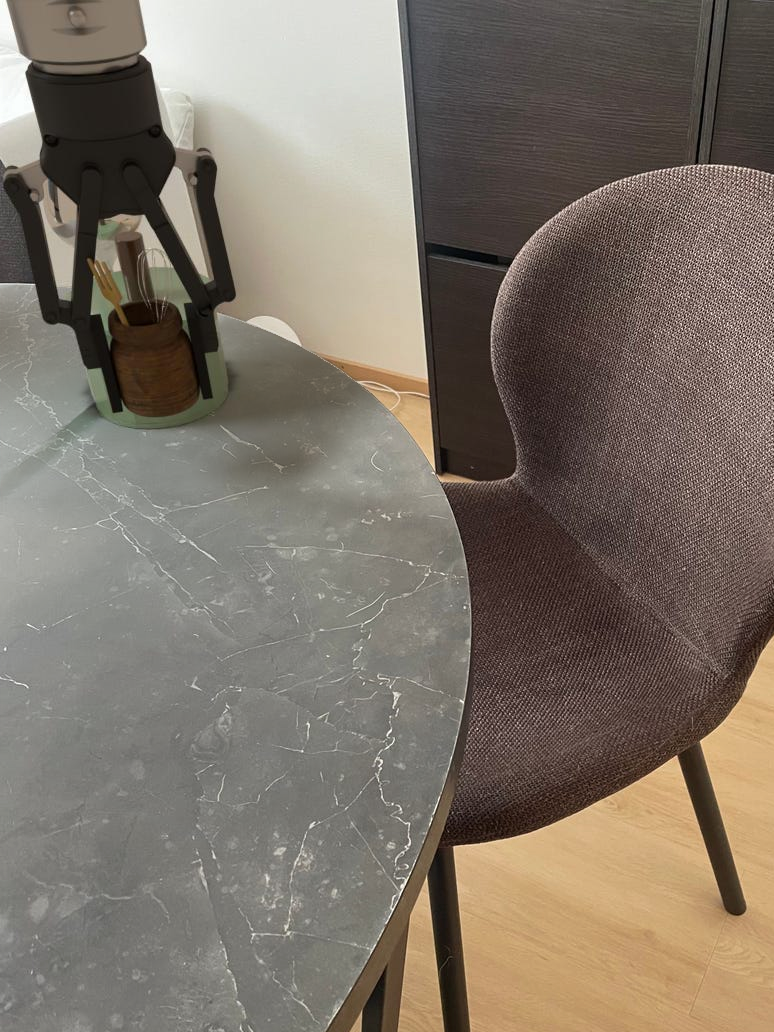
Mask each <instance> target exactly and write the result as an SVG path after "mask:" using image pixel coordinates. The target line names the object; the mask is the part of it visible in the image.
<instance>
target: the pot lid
mask: <svg viewBox="0 0 774 1032" xmlns="http://www.w3.org/2000/svg"><path fill="white" fill-rule="evenodd" d="M114 242H115V246H116V251H117V255H118V257H117V259H118V263H119V268H120V270H117V271H114V272H112V273H111V275H112V277H113V279H114V281H115V283H116V285H117V287H118V289H119V291H120V293H121V296H122V301H121V302H119V305H122V304H125V303H128V302H132V301H137V300H145V299H147V297H148V299H156V300H157V294H158V300H164V297H165V301H166V299H167V301H169V302H170V303H173V304H174V305H176V306H177V308H178V309H179V312H180V314H181V317H182V320H183V326H182V327H184V326H186V325H188V324H187V319H186V314H185V309H184V304H183V303H189V302H192V301H191V299H190V297H189V295H188V293H187V292H186V290H185V288H184V286H183V284H182V282H181V280H180V279H179V277H178V275H177V273H176V271H175V269H174V267H171V269H170V266H167V270H166V275H165V268H166V266H156V275H155V266H154V274H153V266H150V265H149V260H148V255H147V254H146V253H147V250H146V246H145V241H144V237H143V234H142V233H141V232H139V231H137V232H135V231H126V232H121V233H118V234H116V235H115V236H114ZM144 250H146V251H145V252H144V254H143V253H142V252H143V251H144ZM141 253H142V254H141ZM140 254H141V255H140ZM142 255H143V257H142ZM145 255H146V256H145ZM139 256H140V257H139ZM144 257H145V259H144ZM138 258H139V260H138ZM141 259H142V265H141ZM143 261H144V278H143V279H142V272H143ZM137 262H138V270H137ZM171 272H172V280H171ZM167 273H168V280H167ZM104 274H105V273H104ZM199 275H200V276H201V278H202V280H203V282H204V284H206V283H208V282H210V281H212V280H213V279H211V278H210V277H208V276H206V275H204V274H202V273H199ZM99 276H100V275H99ZM105 276H106V278H107V275H106V274H105ZM138 277H139V283H138ZM100 278H101V276H100ZM154 279H155V287H154ZM156 279H157V288H156ZM101 280H102V278H101ZM107 280H108V278H107ZM102 282H103V281H102ZM108 282H109V280H108ZM143 282H145V290H146V293H145V290H144V285H143ZM103 284H104V283H103ZM109 284H110V282H109ZM139 285H140V288H139ZM104 286H105V285H104ZM110 286H111V285H110ZM171 286H172V291H171ZM140 289H141V291H140ZM165 289H166V295H165ZM155 291H156V298H155ZM71 292H72V290H70V292H68V293H67V295H66V296H65V298H64V299H63V300H68V301H71ZM141 292H142V294H141ZM167 293H168V297H167ZM170 293H171V296H170ZM146 294H147V297H146ZM142 295H143V297H144V299H143V297H142ZM169 297H170V300H169ZM113 309H115V307H114V305H113V304H112V303H111V302H110V301H108V300H107V299H106V298H104V296H103V295H102V292H101V290H100V288H99V286H98V283H97V281H96V279H95V277H94V279H93V291H92V304H91V315H95V314H101V318H102V322H103V326H104V330H105V334H106V335H108V336H111V335H110V333H109V329H108V315H109V313H110V312H111V311H112V310H113Z"/></svg>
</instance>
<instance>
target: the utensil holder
mask: <svg viewBox="0 0 774 1032" xmlns="http://www.w3.org/2000/svg"><path fill="white" fill-rule="evenodd" d="M145 251H146V255H147V254H148V253H150V251H151V258H152V259H151V261H152V262H153V264H156V258H155V257H156V256H154V255H155V251H157V252H158V253H159V254H160V255H161V257H162V259H163V263H164V265H165V267H166V268H165V275H166V270H167V267H168V265H167V262H166V260H165V257H164V255H165V256H166V258H167V260H168V262H169V268H170V269H171V268H172V264H171V262H170V260H169V258H168V256H167V254H166V253H165V251H164V250H163V251H162V250H161V249H159V248H156V247H154V248H153V247H148V248H145V250H144V251H143V252H142V253H143V254H144V252H145ZM142 253H141V254H142ZM141 254H140V255H141ZM146 255H145V256H146ZM139 257H140V256H139ZM142 257H143V255H142ZM144 259H145V257H144ZM138 260H139V258H138ZM87 261H88V263H89V265H90V268H91V270H92V272H93V274H94V278H95V279H96V281H97V283H98V286H99V288H100V290H101V292H102V295H103V296H104V298H106V299H107V300H108V301H110V302H111V303H112V304H113V305H114V307H115V309H113V310H112V311H111V312H110V313H109V315H108V329H109V333H110V335H111V336H112V339H111V342H110V356H111V361H112V365H113V369H114V373H115V377H116V381H117V385H118V389H119V393H120V396H121V399H122V401H123V404H124V405H125V407H126V408H127V409H128V410H129V411H130V412H132V413H134V414H136V415H140V416H144V417H166V416H171V415H175V414H178V413H181V412H183V411H186V410H187V409H189V408H191V407H192V406H193V405H194V404H195V403H196V402H197V400H198V398H199V395H200V386H199V379H198V373H197V368H196V363H195V357H194V352H193V348H192V344H191V341H190V338H189V336H188V334H187V333H186V331H185V330H184V329H183V328H182V326H183V320H182V317H181V314H180V312H179V309H178V308H177V306H176V305H174V304H173V303H170V302H169V301H167V299H166V301H165V297H164V300H158V294H157V300H156V299H148V297H147V294H146V297H147V299H145V300H137V301H132V302H128V303H125V304H122V305H119V302H121V301H122V296H121V293H120V291H119V289H118V287H117V285H116V283H115V281H114V279H113V277H112V275H111V273H110V271H109V269H108V267H107V265H106V263H105V262H102V263H101V264H102V266H103V268H102V267H101V266H100V264H99V262H98V261H97V260H95V261H94V262H95V266H94V264H93V262H92V260H91V259H90V258H88V259H87ZM141 265H142V259H141ZM152 267H153V274H154V267H155V275H156V267H157V265H152ZM137 270H138V262H137ZM104 271H105V273H106V275H107V278H108V280H109V282H110V284H109V282H108V280H107V278H106V276H105V273H104ZM100 276H101V278H102V280H101V278H100ZM143 278H144V261H143V272H142V279H143ZM167 280H168V273H167ZM171 280H172V272H171ZM102 281H103V282H102ZM103 283H104V284H103ZM138 283H139V277H138ZM104 285H105V286H104ZM110 285H111V286H110ZM143 285H144V290H145V282H143ZM154 287H155V279H154ZM139 288H140V285H139ZM156 288H157V279H156ZM140 291H141V289H140ZM171 291H172V286H171ZM145 293H146V290H145ZM141 294H142V292H141ZM165 295H166V289H165ZM170 296H171V293H170ZM142 297H143V295H142ZM167 297H168V293H167ZM155 298H156V291H155ZM143 299H144V297H143ZM169 300H170V297H169Z"/></svg>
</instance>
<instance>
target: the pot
mask: <svg viewBox="0 0 774 1032" xmlns="http://www.w3.org/2000/svg"><path fill="white" fill-rule="evenodd" d="M214 319H215V325H216V330H217V336H218V342H219V347H218V351H217V352H210V353H205V357H206V362H207V368H208V373H209V378H210V384H211V389H212V394H213V398H212V399H205V400H203V397H202V393H201V389H200V395H199V398H198V400H197V402H196V403H195V404H194V405H193V406H192V407H191V408H189V409H187V410H186V411H183V412H181V413H178V414H175V415H171V416H166V417H144V416H140V415H136V414H134V413H132V412H130V411H129V410H128V409H127V408H126V407H125V405H124V404H123V401H122V407H123V412H118V413H113V412H112V408H111V404H110V400H109V396H108V393H107V389H106V385H105V381H104V377H103V373H102V369H101V368H97V369H89V370H88V369H87V368H86V366H85V365H84V364H83V367H84V371H85V375H86V378H87V383H88V386H89V390H90V394H91V396H92V398H93V401H94V405H95V408H96V410H97V412H98V413H99V415H100V416H101V417H102V418H104V419H105V420H106V421H108V422H111V423H113V424H116V425H119V426H122V427H126V428H133V429H149V430H152V429H164V428H172V427H177V426H181V425H185V424H188V423H193V422H195V421H198V420H200V419H203V418H205V417H206V416H208V415H210V414H212V413H214V411H216V410H217V409H218V408H219V407H221V406H222V405H223V404H224V402H226V401H225V400H226V399H227V397H228V394H229V377H228V372H227V366H226V360H225V353H224V348H223V342H222V335H221V331H220V325H219V318H218V312H217V307H216V308H215V310H214ZM182 328H183V329H184V330H185V331H186V333H187V334H188V336H189V338H190V335H189V330H188V325H186V326H184V327H182ZM106 338H107V342H108V346H109V350H110V342H111V339H112V336H108V335H106ZM190 341H191V340H190ZM199 386H200V385H199ZM121 400H122V399H121Z"/></svg>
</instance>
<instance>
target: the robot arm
mask: <svg viewBox="0 0 774 1032" xmlns="http://www.w3.org/2000/svg"><path fill="white" fill-rule="evenodd" d="M5 2H6V6H7V10H8V13H9V17H10V20H11V21H10V22H11V24H12V29H13V32H14V35H15V36H14V37H15V40H16V44H17V48H18V51H19V54H20V55H22V56H23V57H24V58H26V59H27V60H28V61H31V62H29V64H28V65H27V68H26V70H25V71H24V74H25V79H26V83H27V87H28V91H29V94H30V98H31V102H32V106H33V110H34V113H35V117H36V121H37V125H38V129H39V133H40V137H41V147H40V151H39V159H36V160H35V161H32V162H29V163H27V164H25V165H23V166H17V165H13V164H11V165H7V166H6V167H5V169H4V170H3V176H2V177H3V178H2V179H3V180H2V181H3V183H2V184H3V185H2V186H3V189H4V192H5V193H6V195H7V197H8V198H9V200H10V202H11V204H12V205H13V207H14V208H15V210H16V211H17V213H18V215H19V217H20V218H19V219H20V222H21V227H22V232H23V237H24V241H25V246H26V249H27V255H28V258H29V263H30V268H31V273H32V276H33V282H34V286H35V290H36V295H37V300H38V304H39V309H40V313H41V317H42V320H43V322H45V323H46V324H48V325H50V326H55V325H57V324H59V325H65V326H68V327H70V328H71V329H72V330H73V332H74V335H75V338H76V341H77V345H78V349H79V353H80V356H81V360H82V363H83V366H84V365H85V366H86V368H87V369H88V370H89V369H97V368H101V369H102V373H103V377H104V381H105V385H106V389H107V393H108V396H109V400H110V404H111V408H112V412H113V413H118V412H123V407H122V400H121V396H120V393H119V389H118V385H117V381H116V377H115V373H114V369H113V365H112V361H111V356H110V350H109V346H108V342H107V338H106V334H105V330H104V326H103V322H102V318H101V314H95V315H91V304H92V291H93V279H94V278H95V277H94V274H93V272H92V270H91V268H90V265H89V263H88V261H87V259H88V258H90V259H91V260H92V262H93V264H94V266H95V267H96V265H95V262H94V261H95V254H96V241H97V234H98V223H99V220H100V219H109V218H112V217H115V216H117V215H120V214H125V215H131V216H137V215H142V216H144V217H145V218H146V220H147V221H146V222H147V223H148V224H149V226H150V228H151V230H152V231H153V233H154V235H155V236H156V238H157V239H158V241H159V244H160V245H161V247H162V249H163V252H164V253H165V254H166V255H167V256H166V257H168V258H169V260H168V261H170V264H171V267H172V268H174V269H175V271H176V273H177V275H178V277H179V279H180V280H181V282H182V284H183V286H184V288H185V290H186V292H187V293H188V295H189V297H190V299H191V301H192V302H189V303H183V304H184V309H185V314H186V319H187V324H188V330H189V335H190V340H191V344H192V348H193V352H194V357H195V363H196V368H197V373H198V379H199V385H200V389H201V393H202V397H203V400H205V399H212V398H213V394H212V389H211V384H210V378H209V373H208V368H207V362H206V357H205V353H210V352H217V351H218V347H219V342H218V336H217V330H216V325H215V319H214V310H215V308H216V309H217V307H218V306H220V305H221V304H223V303H231V302H234V300H235V299H236V298H237V290H236V286H235V281H234V278H233V273H232V268H231V264H230V259H229V255H228V252H227V246H226V242H225V237H224V233H223V229H222V224H221V220H220V216H219V215H220V214H219V211H218V206H217V202H216V198H215V191H216V183H217V175H218V165H217V163H216V160H215V158H214V155H213V154H212V152H211V150H210V149H209V148H206V147H199V148H197V149H196V150H191V149H187V148H182V147H176V146H174V144H173V142H172V140H171V139H170V138H169V136H168V135H167V133H166V132H165V129H164V127H163V126H164V125H163V120H162V115H161V109H160V104H159V99H158V93H157V89H156V84H155V83H156V82H155V78H154V72H153V67H152V63H151V62H150V61H149V60H148V59H147V58H146V56H145V55H143V54H140V53H142V52H143V51H144V50H145V49H146V47H147V45H148V41H147V40H148V39H147V34H146V30H145V24H144V17H143V13H142V8H141V2H140V0H5ZM174 168H177V169H179V170H180V172H181V175H182V178H183V181H184V183H185V184H186V185H187V186H189V187H191V188H192V192H193V196H194V201H195V205H196V209H197V213H198V217H199V222H200V226H201V230H202V233H203V239H204V242H205V243H204V244H205V246H206V251H207V256H208V260H209V264H210V268H211V272H212V275H213V279H211V280H212V281H210V282H208V283H206V284H204V282H203V280H202V278H201V276H200V275H199V274H200V272H199V271H198V269H197V267H196V265H195V263H194V261H193V259H192V257H191V256H190V253H189V251H188V249H187V248H186V246H185V244H184V242H183V240H182V238H181V237H180V234H179V233H178V231H177V229H176V226H175V224H174V223H173V221H172V219H171V217H170V215H169V213H168V212H167V209H166V207H165V204H164V203H163V200H162V199H161V197H160V196H161V193H162V192H163V190H164V188H165V186H166V183H167V181H168V180H169V178H170V175H171V174H172V171H173V170H174ZM47 179H49V180H50V181H51V182H52V183H54V184H55V185H56V186H57V187H58V188H59V189H60V190H61V191H62V192H63V193H64V194H65V195H66V196H67V197H68V198H70V199H71V200H72V201H73V202H74V203H75V204H76V205H77V211H76V232H75V247H74V248H73V264H72V279H71V291H72V292H71V291H70V292H71V301H68V300H64V299H62V298H60V296H59V290H58V286H57V282H56V277H55V272H54V266H53V263H52V257H51V252H50V248H49V243H48V237H47V233H46V229H45V223H44V217H43V213H42V209H41V206H40V202H43V198H44V188H43V182H44V181H45V180H47ZM168 258H167V259H168Z"/></svg>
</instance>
